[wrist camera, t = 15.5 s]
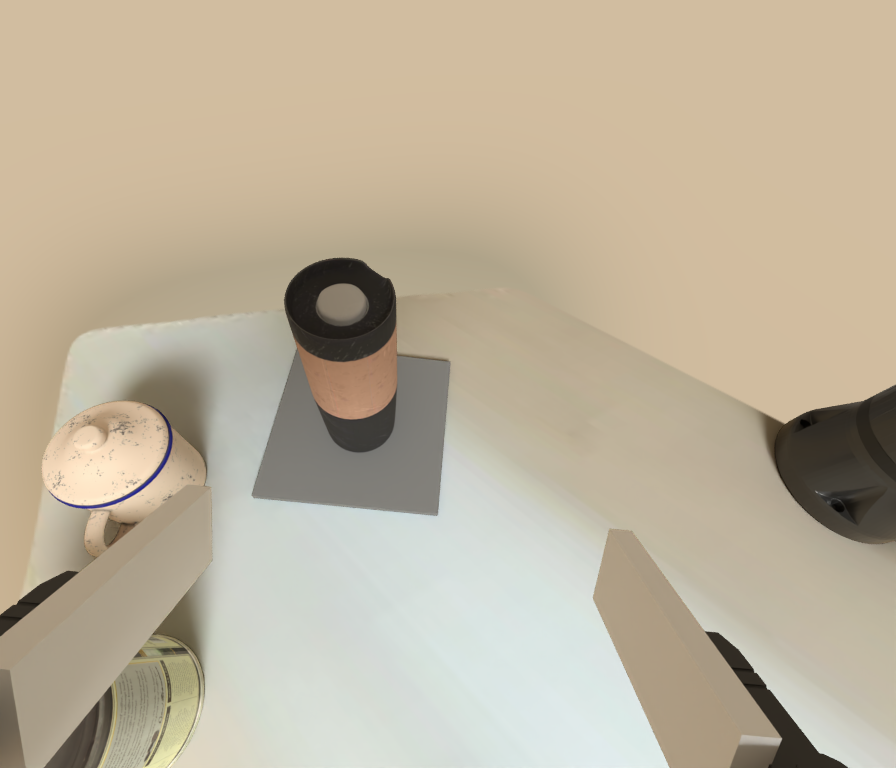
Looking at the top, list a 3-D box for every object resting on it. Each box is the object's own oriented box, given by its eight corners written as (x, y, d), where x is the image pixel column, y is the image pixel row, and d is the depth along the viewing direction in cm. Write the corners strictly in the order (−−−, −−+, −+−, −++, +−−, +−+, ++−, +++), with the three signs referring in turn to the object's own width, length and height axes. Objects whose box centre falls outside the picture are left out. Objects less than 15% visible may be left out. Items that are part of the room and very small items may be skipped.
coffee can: (52, 834, 29) (-186, 968, 17) (58, 666, 34) (-128, 681, 22) (214, 759, 32) (103, 830, 20) (199, 613, 37) (102, 600, 25)
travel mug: (324, 459, 44) (278, 345, 27) (324, 393, 48) (284, 256, 30) (400, 452, 45) (402, 339, 28) (394, 388, 49) (393, 254, 32)
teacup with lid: (125, 440, 44) (45, 381, 34) (219, 440, 45) (168, 383, 35) (78, 567, 38) (-37, 541, 28) (188, 565, 39) (115, 539, 29)
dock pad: (449, 365, 52) (450, 361, 52) (437, 515, 43) (437, 513, 42) (299, 348, 51) (298, 344, 51) (253, 497, 42) (251, 495, 41)
